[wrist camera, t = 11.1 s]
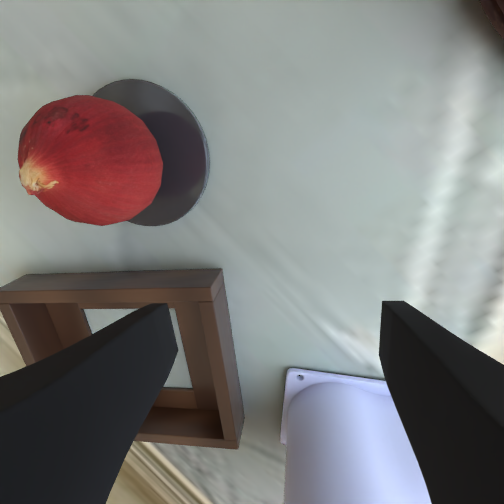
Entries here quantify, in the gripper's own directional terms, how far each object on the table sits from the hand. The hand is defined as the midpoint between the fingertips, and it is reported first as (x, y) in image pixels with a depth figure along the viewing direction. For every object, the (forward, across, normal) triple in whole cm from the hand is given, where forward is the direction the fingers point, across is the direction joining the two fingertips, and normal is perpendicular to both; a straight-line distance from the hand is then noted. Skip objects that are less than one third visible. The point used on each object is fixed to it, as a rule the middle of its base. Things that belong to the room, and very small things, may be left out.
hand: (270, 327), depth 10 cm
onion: (+9, +8, -6) cm, 14 cm away
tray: (+9, +12, +9) cm, 18 cm away
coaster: (+9, +8, -6) cm, 14 cm away
